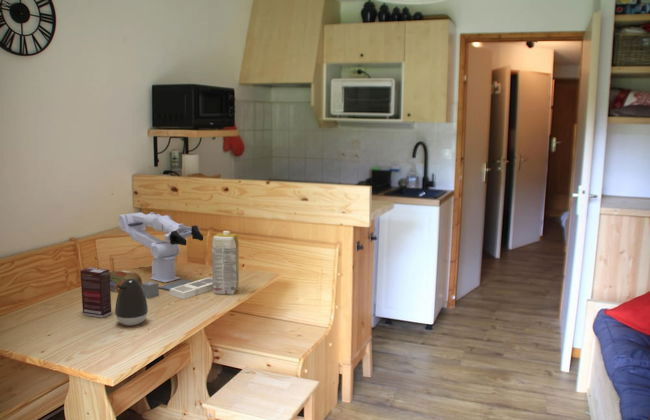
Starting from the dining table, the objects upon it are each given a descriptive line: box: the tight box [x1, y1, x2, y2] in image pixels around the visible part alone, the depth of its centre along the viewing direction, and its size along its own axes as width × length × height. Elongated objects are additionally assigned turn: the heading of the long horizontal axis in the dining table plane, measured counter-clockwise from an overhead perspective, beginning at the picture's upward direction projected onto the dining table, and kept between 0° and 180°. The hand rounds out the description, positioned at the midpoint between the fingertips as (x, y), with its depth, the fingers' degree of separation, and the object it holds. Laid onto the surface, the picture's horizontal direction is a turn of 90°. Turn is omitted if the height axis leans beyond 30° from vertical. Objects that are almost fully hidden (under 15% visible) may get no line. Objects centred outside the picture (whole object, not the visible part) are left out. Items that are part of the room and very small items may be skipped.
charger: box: [141, 280, 160, 299], centre depth 216 cm, size 4×4×5 cm
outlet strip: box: [168, 276, 214, 300], centre depth 225 cm, size 8×24×3 cm, turn 146°
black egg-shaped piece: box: [114, 278, 149, 327], centre depth 187 cm, size 10×10×15 cm
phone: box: [159, 278, 194, 292], centre depth 230 cm, size 7×14×1 cm, turn 151°
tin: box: [110, 269, 143, 294], centre depth 219 cm, size 15×3×8 cm, turn 68°
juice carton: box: [211, 230, 240, 295], centre depth 221 cm, size 9×8×24 cm
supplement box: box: [80, 266, 112, 319], centre depth 194 cm, size 9×5×16 cm, turn 71°
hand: (194, 240), depth 221 cm, fingers open, 7 cm apart
